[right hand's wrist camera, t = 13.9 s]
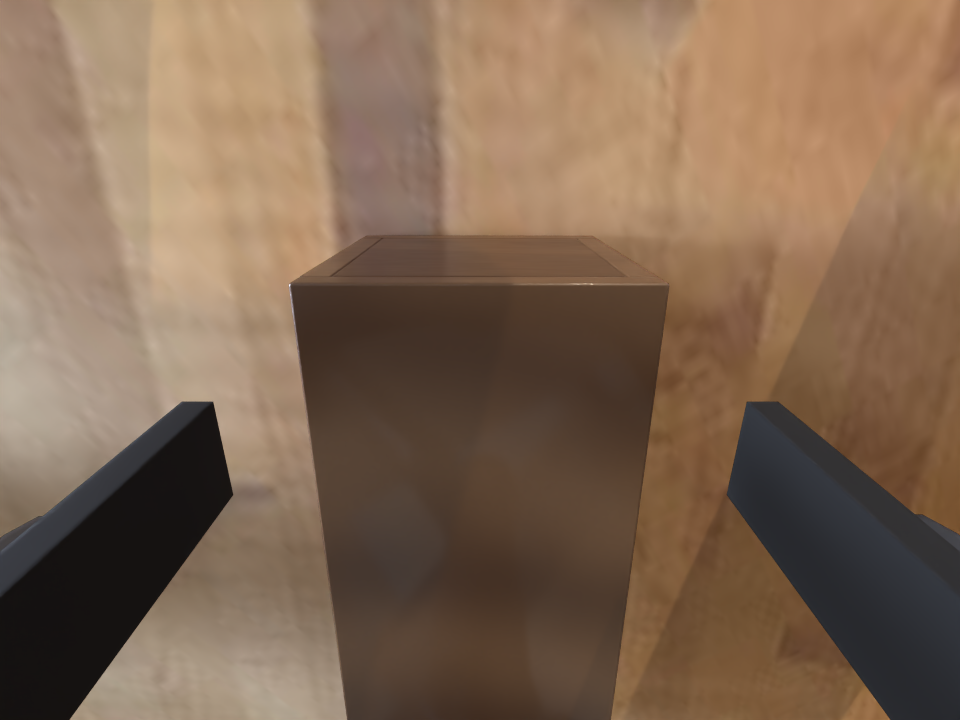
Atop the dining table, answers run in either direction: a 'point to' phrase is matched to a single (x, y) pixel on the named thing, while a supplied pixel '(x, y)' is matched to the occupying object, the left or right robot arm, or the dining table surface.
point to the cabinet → (479, 467)
